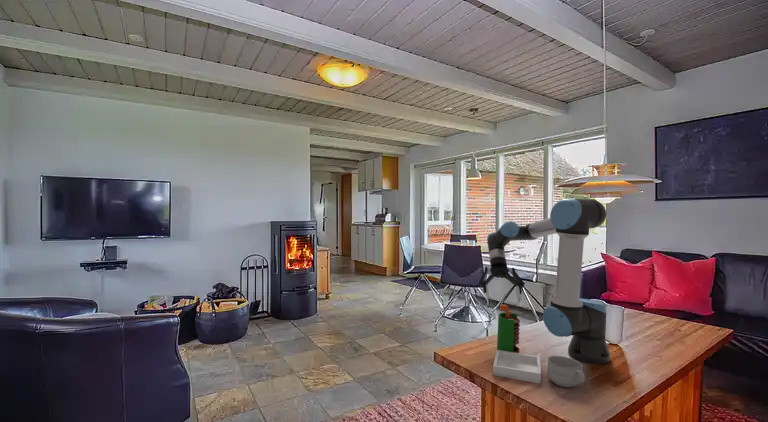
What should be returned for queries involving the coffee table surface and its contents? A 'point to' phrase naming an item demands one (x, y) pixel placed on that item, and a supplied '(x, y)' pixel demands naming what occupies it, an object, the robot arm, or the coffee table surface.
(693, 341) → the coffee table surface
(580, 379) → the teacup
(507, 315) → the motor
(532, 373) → the tray
